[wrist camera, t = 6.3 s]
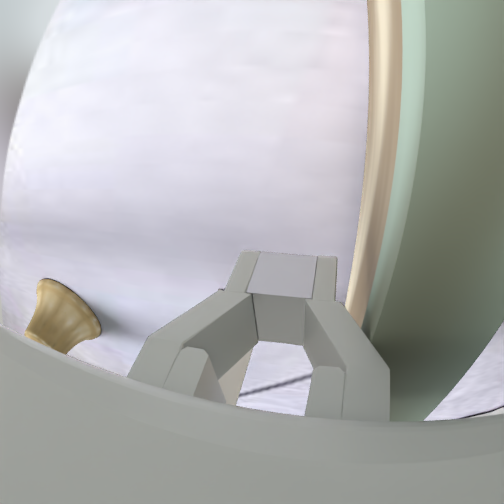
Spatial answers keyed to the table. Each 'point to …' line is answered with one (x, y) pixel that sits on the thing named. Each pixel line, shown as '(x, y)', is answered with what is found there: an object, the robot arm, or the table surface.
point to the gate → (431, 195)
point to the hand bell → (61, 318)
